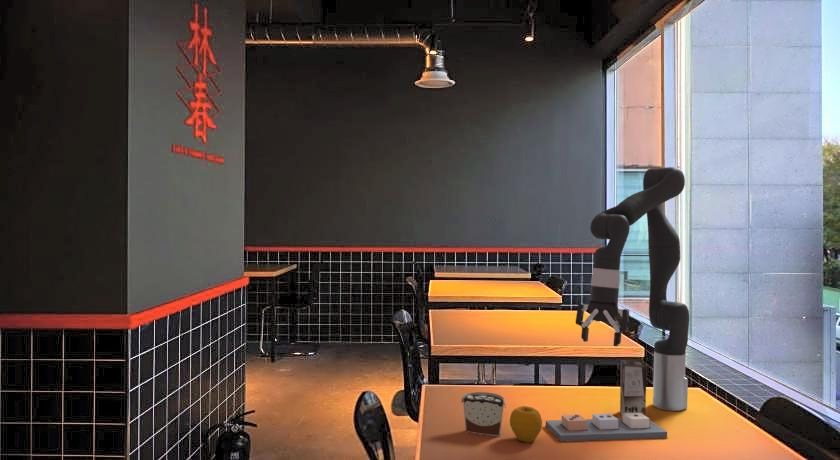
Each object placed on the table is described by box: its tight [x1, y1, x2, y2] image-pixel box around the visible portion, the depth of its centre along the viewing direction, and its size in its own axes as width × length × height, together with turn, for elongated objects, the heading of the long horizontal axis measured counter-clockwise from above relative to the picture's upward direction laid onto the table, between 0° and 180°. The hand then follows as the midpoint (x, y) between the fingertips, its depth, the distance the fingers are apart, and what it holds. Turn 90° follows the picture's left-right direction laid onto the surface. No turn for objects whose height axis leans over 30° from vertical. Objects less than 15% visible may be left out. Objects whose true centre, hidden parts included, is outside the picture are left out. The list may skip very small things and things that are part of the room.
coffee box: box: [619, 359, 648, 418], centre depth 186 cm, size 9×6×16 cm
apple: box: [509, 405, 543, 443], centre depth 165 cm, size 9×8×9 cm
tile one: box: [622, 413, 650, 429], centre depth 173 cm, size 5×5×3 cm
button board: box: [545, 417, 668, 442], centre depth 172 cm, size 30×12×2 cm, turn 98°
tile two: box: [591, 413, 618, 430], centre depth 172 cm, size 5×5×3 cm
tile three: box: [561, 413, 587, 431], centre depth 171 cm, size 5×5×3 cm
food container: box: [460, 391, 507, 438], centre depth 172 cm, size 12×6×10 cm, turn 71°
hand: (600, 343), depth 173 cm, fingers open, 8 cm apart
